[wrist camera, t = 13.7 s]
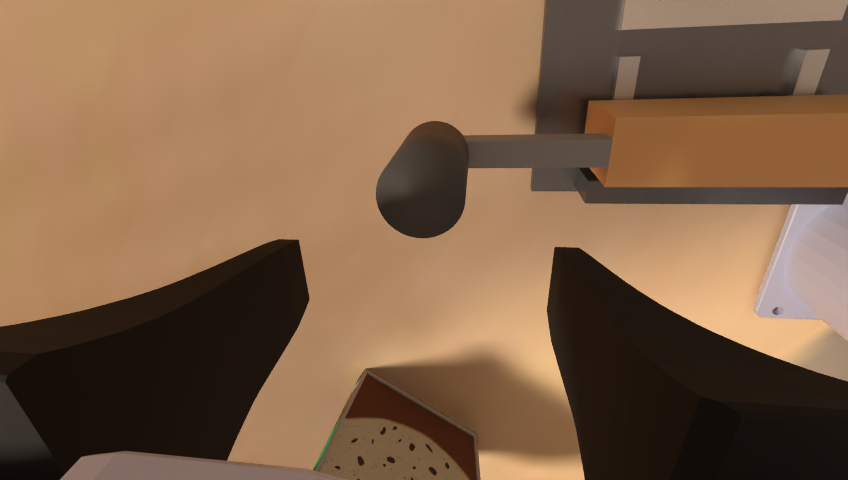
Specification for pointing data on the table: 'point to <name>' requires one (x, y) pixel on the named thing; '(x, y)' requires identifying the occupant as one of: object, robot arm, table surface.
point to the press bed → (684, 74)
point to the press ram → (629, 152)
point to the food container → (396, 438)
